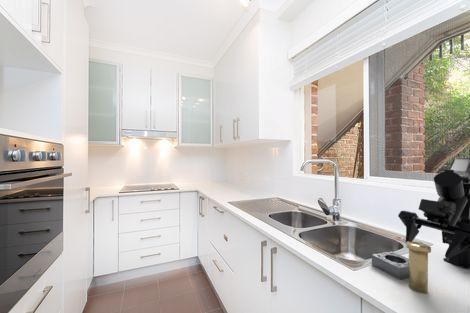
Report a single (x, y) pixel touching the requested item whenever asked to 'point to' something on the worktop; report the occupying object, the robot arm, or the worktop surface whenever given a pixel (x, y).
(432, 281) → the worktop surface
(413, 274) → the brass flanged cylinder
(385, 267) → the jig
